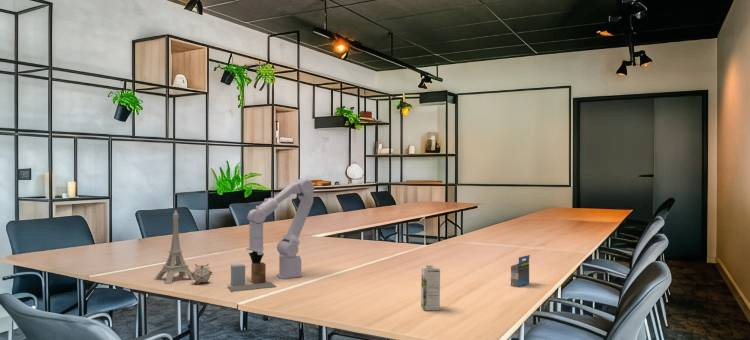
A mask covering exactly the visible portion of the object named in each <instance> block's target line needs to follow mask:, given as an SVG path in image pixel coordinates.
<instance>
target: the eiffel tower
mask: <svg viewBox="0 0 750 340" xmlns="http://www.w3.org/2000/svg"><path fill="white" fill-rule="evenodd" d="M179 219H180V216H179V213H178V210H176V209H175V210H174V212H173V214H172V220H173V223H172V224H173V225H172V226H173V227H172V239H171V246H170V250H169V251H168V253H169V255H168V258H167V259H166V262H165V264H163V265H162V268H161V269H160V271H159V272H158V273H157V275H156V276H155V277H154V278H153V280H155V281H159V280H163V277H164V275H165V274H166V278H165V280H164V282H163V284H165V285H170V284H173V279H174V276H175V275H176V273H178V276H179V277H184V276H185V277H186V276H188V280H190V281H195V279H194V277H193V276H191V275H193V274H191V273H193V271H191V270H190V268H189V264H187V263H186V261H185V259H184V257H183V254H182V253H183V250H181V244H180V243H181V242H180V235H179Z"/></svg>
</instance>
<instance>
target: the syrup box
mask: <svg viewBox="0 0 750 340" xmlns="http://www.w3.org/2000/svg"><path fill="white" fill-rule="evenodd" d="M420 279H421V282H420V287H421V288H420V307H421V308H422V310H423V311H424V310H432V311H440V304H441V303H440V302H441V301H440V300H441V269H440V267H439V266H437V265H433V264H432V265H431V264H426V265H421V278H420Z"/></svg>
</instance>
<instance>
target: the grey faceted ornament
mask: <svg viewBox="0 0 750 340" xmlns="http://www.w3.org/2000/svg"><path fill="white" fill-rule="evenodd" d="M194 265H195V268H194V270H193V271H192V273H191V274H193V275H191V276H193V277H194V279H195V280H194V281H195V283H194V285H197V283H198V284H199V283H207V285H208V284H209V280H210V277H211V276H212V275H213V271H211V270H210V268H209V263H207V264H204V265H203V264H202V265H197V264H196V263H195V264H194Z"/></svg>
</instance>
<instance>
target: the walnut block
mask: <svg viewBox="0 0 750 340" xmlns="http://www.w3.org/2000/svg"><path fill="white" fill-rule="evenodd" d="M250 268H251V270H250V271H251V272H250V273H251V278H250V280H251V284H258V283H267V282H266V279H267V278H266V277H267V275H266V274H267V273H266V270H267V269H266V263H265V262H262V261H261V262H260V263H252V262H251V267H250Z"/></svg>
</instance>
